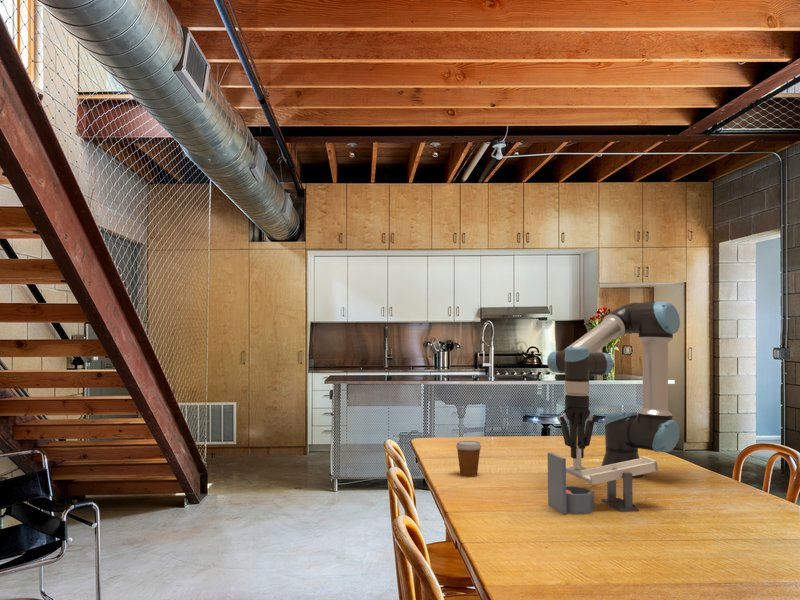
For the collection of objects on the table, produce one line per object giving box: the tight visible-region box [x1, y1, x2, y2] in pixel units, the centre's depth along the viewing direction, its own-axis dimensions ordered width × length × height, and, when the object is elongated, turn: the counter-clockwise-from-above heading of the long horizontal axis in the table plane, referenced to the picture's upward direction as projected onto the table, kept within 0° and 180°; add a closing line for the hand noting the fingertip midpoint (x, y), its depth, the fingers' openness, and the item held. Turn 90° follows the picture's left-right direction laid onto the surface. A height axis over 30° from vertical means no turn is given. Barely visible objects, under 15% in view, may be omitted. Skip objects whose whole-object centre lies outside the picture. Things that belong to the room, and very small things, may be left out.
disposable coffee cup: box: [455, 440, 482, 478], centre depth 232 cm, size 10×10×12 cm
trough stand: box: [601, 473, 640, 513], centre depth 191 cm, size 6×11×11 cm, turn 11°
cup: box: [547, 452, 595, 515], centre depth 188 cm, size 12×11×16 cm
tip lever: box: [566, 455, 659, 486], centre depth 196 cm, size 22×18×4 cm
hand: (577, 468), depth 199 cm, fingers closed
